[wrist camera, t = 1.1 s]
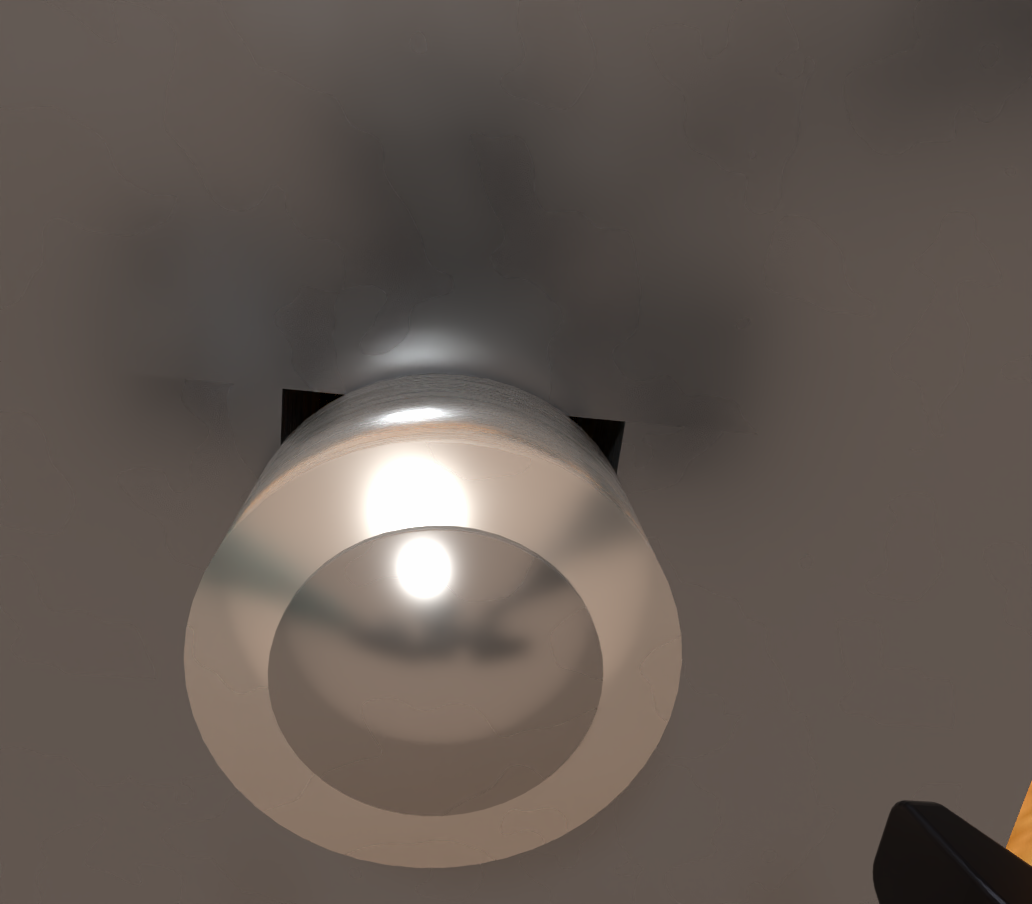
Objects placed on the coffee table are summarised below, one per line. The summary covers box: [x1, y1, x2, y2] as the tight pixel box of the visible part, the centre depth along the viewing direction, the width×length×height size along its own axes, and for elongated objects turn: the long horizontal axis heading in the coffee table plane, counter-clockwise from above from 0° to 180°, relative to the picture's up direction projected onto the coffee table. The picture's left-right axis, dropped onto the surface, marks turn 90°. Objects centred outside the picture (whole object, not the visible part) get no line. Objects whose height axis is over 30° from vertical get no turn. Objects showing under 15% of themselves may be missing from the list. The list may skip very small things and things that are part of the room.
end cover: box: [184, 373, 682, 868], centre depth 14 cm, size 6×6×7 cm
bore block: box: [0, 0, 1032, 904], centre depth 15 cm, size 22×22×4 cm
